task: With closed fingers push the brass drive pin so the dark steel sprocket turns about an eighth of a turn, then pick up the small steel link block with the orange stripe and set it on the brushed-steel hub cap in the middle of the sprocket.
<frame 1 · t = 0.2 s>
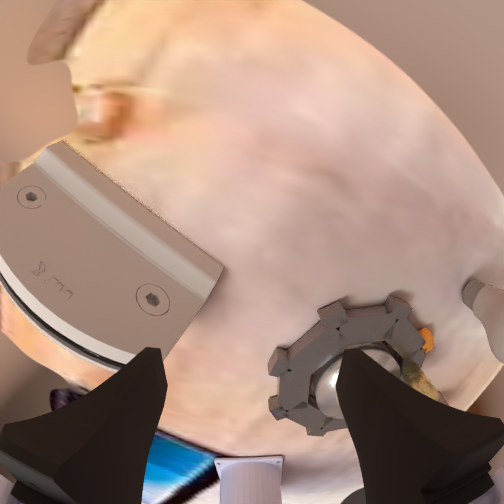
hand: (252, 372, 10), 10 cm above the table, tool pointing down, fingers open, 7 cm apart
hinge: (109, 240, 19), on the table
lightbulb: (465, 288, 21), on the table
hub: (351, 371, 23), on the table
sprocket: (362, 394, 20), point 3 cm above the table, hinge at 0.0°
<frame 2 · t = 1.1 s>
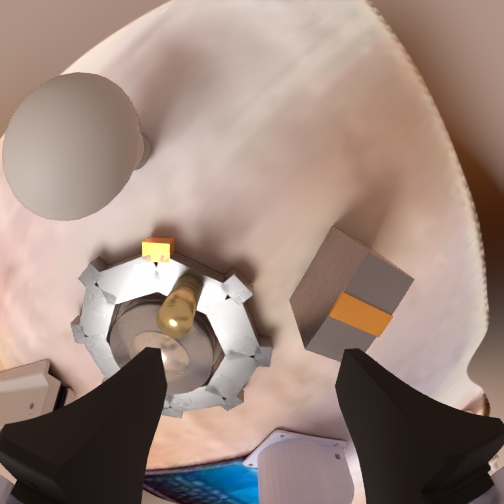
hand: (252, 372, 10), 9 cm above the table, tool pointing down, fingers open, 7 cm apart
eye dropper bottle: (460, 416, 27), on the table
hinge: (35, 390, 24), on the table
marked link: (331, 274, 19), on the table
lightbulb: (138, 151, 17), on the table
hub: (167, 337, 20), on the table
sprocket: (157, 361, 18), point 3 cm above the table, hinge at 0.0°
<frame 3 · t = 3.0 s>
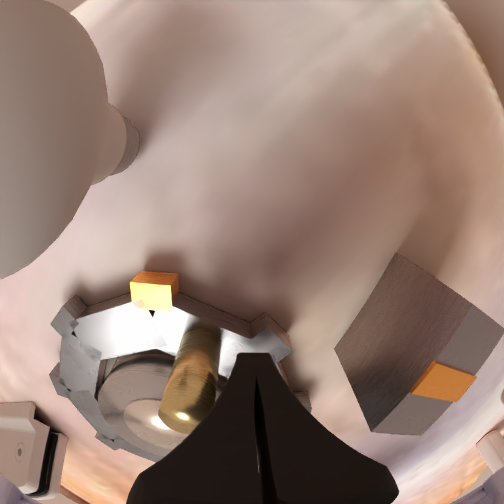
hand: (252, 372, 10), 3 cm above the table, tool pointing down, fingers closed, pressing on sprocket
eye dropper bottle: (486, 436, 21), on the table
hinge: (24, 426, 18), on the table
marked link: (388, 313, 14), on the table
lightbulb: (122, 146, 11), on the table
hub: (172, 393, 15), on the table
sprocket: (161, 431, 12), point 3 cm above the table, hinge at 0.0°, touching gripper
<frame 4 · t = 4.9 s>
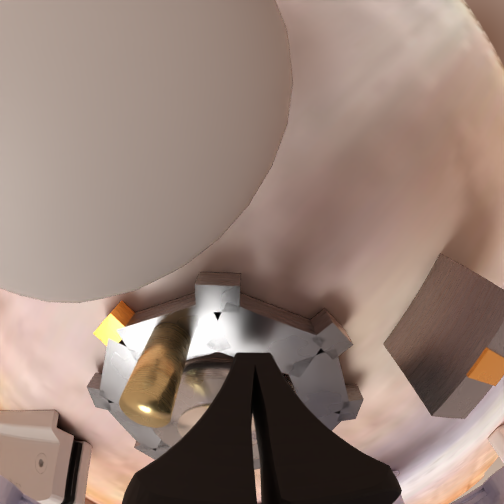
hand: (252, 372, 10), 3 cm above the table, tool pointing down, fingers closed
eye dropper bottle: (497, 430, 21), on the table
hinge: (41, 434, 18), on the table
marked link: (430, 310, 14), on the table
lightbulb: (187, 140, 11), on the table
hub: (222, 396, 15), on the table
sprocket: (219, 437, 12), point 3 cm above the table, hinge at 46.8°
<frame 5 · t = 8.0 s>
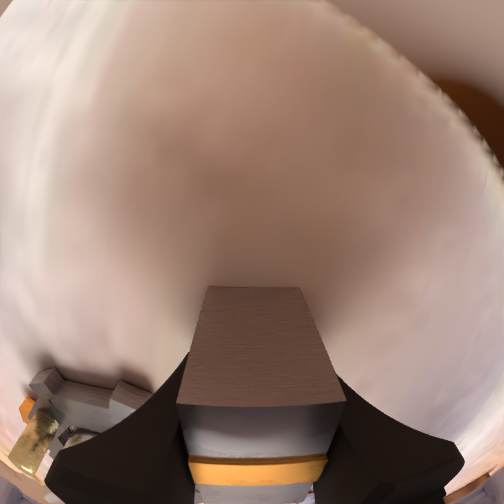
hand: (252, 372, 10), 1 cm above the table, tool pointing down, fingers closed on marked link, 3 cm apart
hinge: (77, 495, 20), on the table
marked link: (251, 351, 12), on the table, touching gripper
hub: (124, 450, 14), on the table
sprocket: (113, 484, 11), point 3 cm above the table, hinge at 46.8°
figurine frame: (445, 503, 27), on the table
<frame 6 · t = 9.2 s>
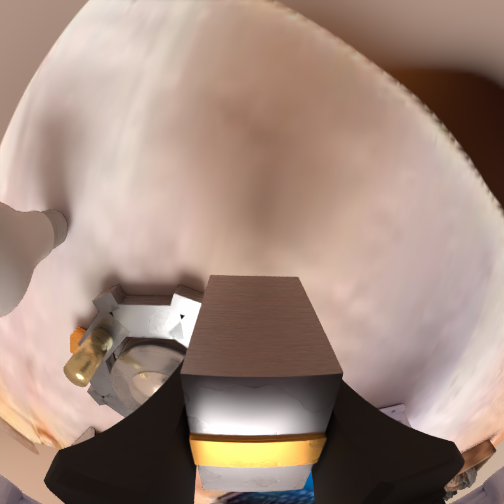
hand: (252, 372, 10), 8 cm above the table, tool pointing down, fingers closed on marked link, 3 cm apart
marked link: (252, 339, 12), point 6 cm above the table, touching gripper
lightbulb: (62, 224, 17), on the table
hub: (165, 371, 20), on the table
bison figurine: (449, 472, 32), resting in figurine frame
sprocket: (157, 397, 17), point 3 cm above the table, hinge at 46.8°
figurine frame: (449, 471, 33), on the table
when the fingers open (5 cm above the table, at t = 10.7 s): marked link stays where it is, resting on hub.
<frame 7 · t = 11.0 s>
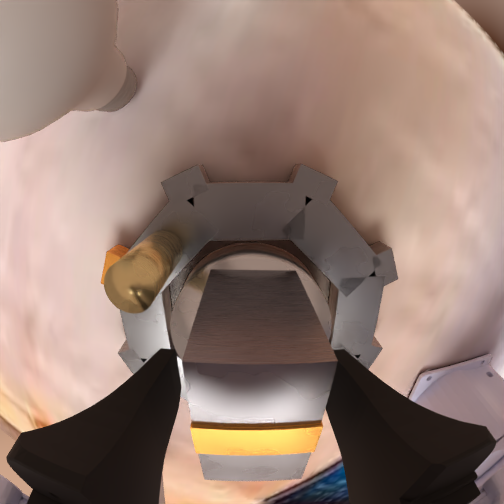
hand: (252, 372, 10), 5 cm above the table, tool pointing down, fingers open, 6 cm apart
marked link: (251, 332, 12), point 3 cm above the table, touching hub
lightbulb: (122, 93, 12), on the table
hub: (250, 309, 15), on the table
sprocket: (251, 342, 12), point 3 cm above the table, hinge at 46.8°
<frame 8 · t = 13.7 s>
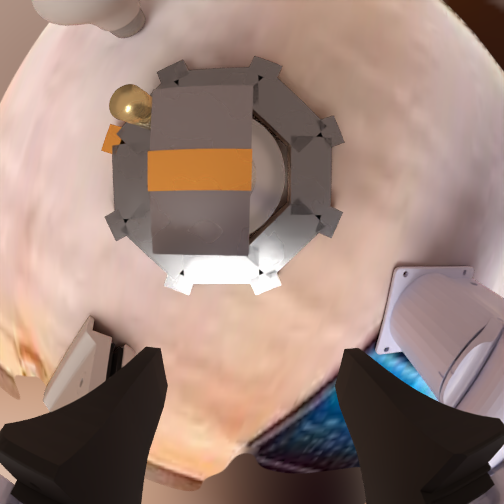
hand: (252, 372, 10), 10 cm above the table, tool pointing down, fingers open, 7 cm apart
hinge: (92, 382, 23), on the table
marked link: (216, 169, 15), point 3 cm above the table, touching hub
lightbulb: (133, 29, 14), on the table
hub: (220, 174, 18), on the table
sprocket: (215, 175, 15), point 3 cm above the table, hinge at 46.8°
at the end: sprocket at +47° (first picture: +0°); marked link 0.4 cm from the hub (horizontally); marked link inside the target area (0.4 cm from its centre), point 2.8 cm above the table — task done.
